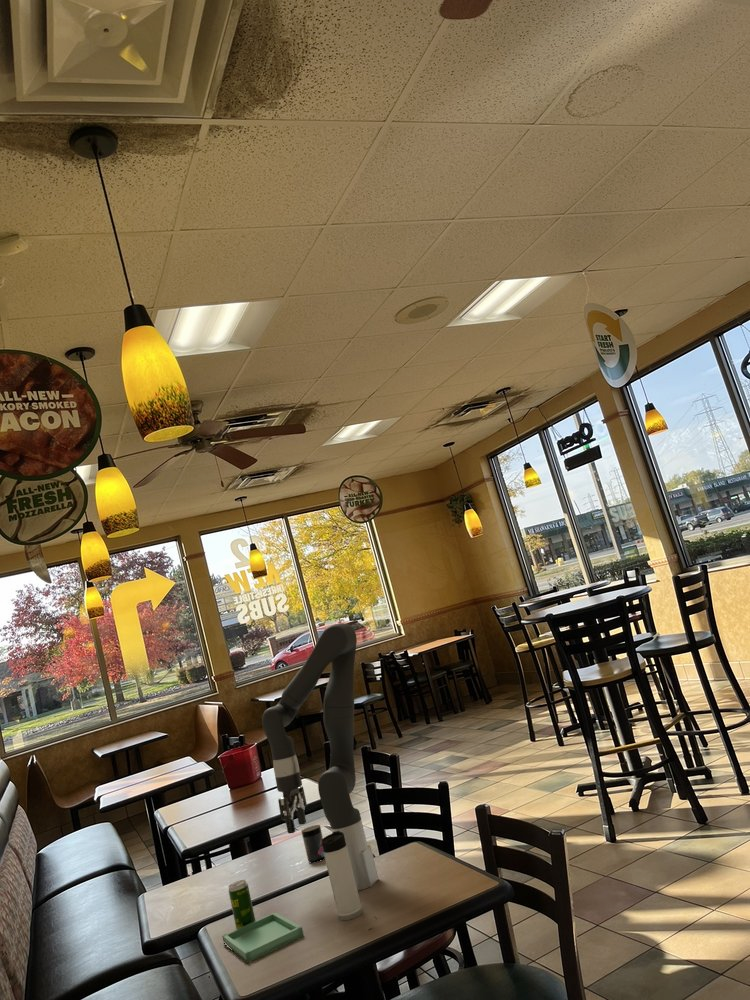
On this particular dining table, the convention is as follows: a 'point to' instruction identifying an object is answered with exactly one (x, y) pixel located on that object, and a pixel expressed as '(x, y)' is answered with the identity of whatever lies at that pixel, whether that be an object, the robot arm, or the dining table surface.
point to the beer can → (241, 903)
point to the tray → (262, 936)
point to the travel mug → (341, 876)
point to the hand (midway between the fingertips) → (297, 828)
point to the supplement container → (313, 843)
